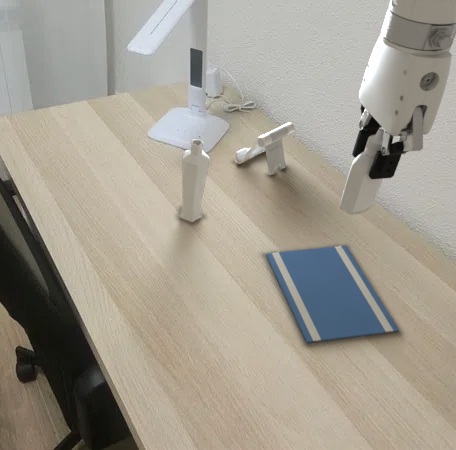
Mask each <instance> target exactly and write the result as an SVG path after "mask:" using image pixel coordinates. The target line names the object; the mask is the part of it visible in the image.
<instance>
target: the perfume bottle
mask: <svg viewBox="0 0 456 450" xmlns="http://www.w3.org/2000/svg"><path fill="white" fill-rule="evenodd" d="M204 144H205V143H204V141H203V140H202V139H199V138H197V139H195V138H194V139H191V141H190V149H188V150H187V149H186V150H185V151H184V153H183V156H182V161H181V165H182V167H181V170H182V171H181V172H182V173H181V175H182V177H181V178H182V179H181V181H182V182H181V183H182V185H181V186H182V189H181V190H182V191H181V192H182V195H181V196H182V197H181V198H182V208H181V212H180V215H179V218H180V219H183V220H185V221H188V222H190V223H193V222H195V221H198V220H199V219H201V218H202V217H203V215H202V211H201V207H202V202H203V196H204V192H205V188H206V182H207V177H208V172H209V168H210V167H209V166H210V162H211V158H210V157H209V155H208V154H207V153H206V152H205V151H204V150H203V147H204Z"/></svg>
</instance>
